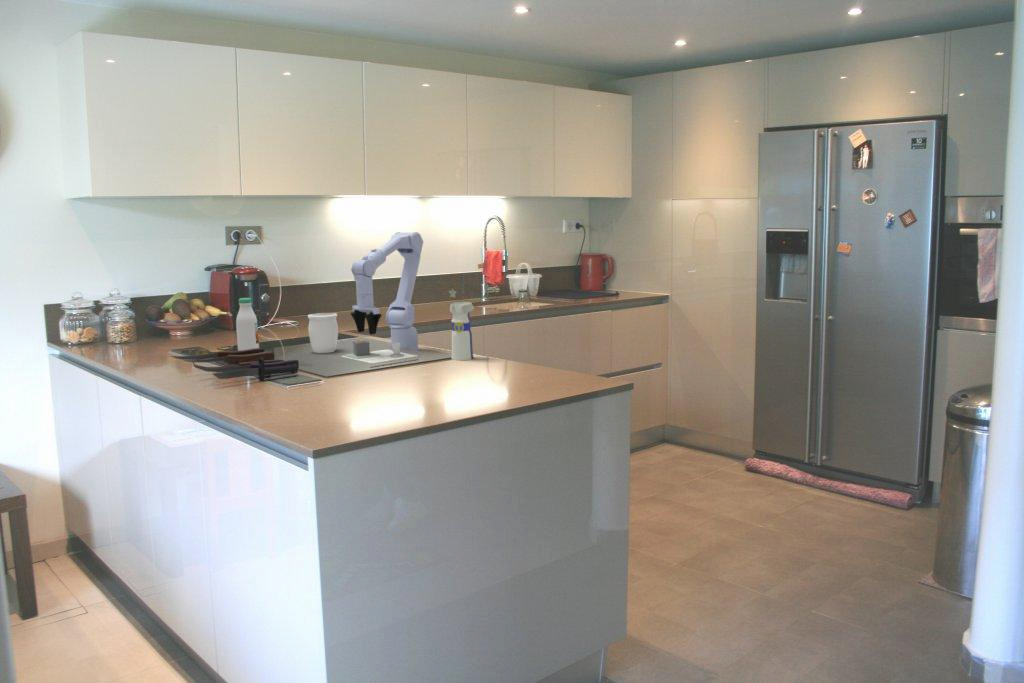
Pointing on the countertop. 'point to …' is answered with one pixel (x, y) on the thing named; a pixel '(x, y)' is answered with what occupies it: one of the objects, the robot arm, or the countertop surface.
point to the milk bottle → (246, 326)
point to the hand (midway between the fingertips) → (366, 332)
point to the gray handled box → (361, 348)
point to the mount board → (386, 356)
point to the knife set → (244, 363)
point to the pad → (361, 356)
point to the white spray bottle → (461, 330)
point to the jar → (323, 332)
